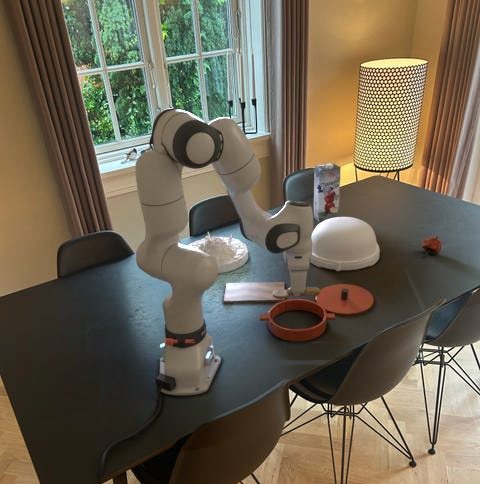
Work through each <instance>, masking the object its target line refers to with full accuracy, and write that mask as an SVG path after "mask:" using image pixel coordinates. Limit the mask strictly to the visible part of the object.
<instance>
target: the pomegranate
mask: <svg viewBox="0 0 480 484" xmlns="http://www.w3.org/2000/svg"><path fill="white" fill-rule="evenodd" d="M421 247H422V249H423V251H424V252H425V255H424V257H427V256H428V254H432V255H433V256H436V255H438V254H439V253H440V252H441V250H442V242H441V241H440V239H438V236H436V237H427V238H425V239H424V240H423V241H422V244H421Z"/></svg>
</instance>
